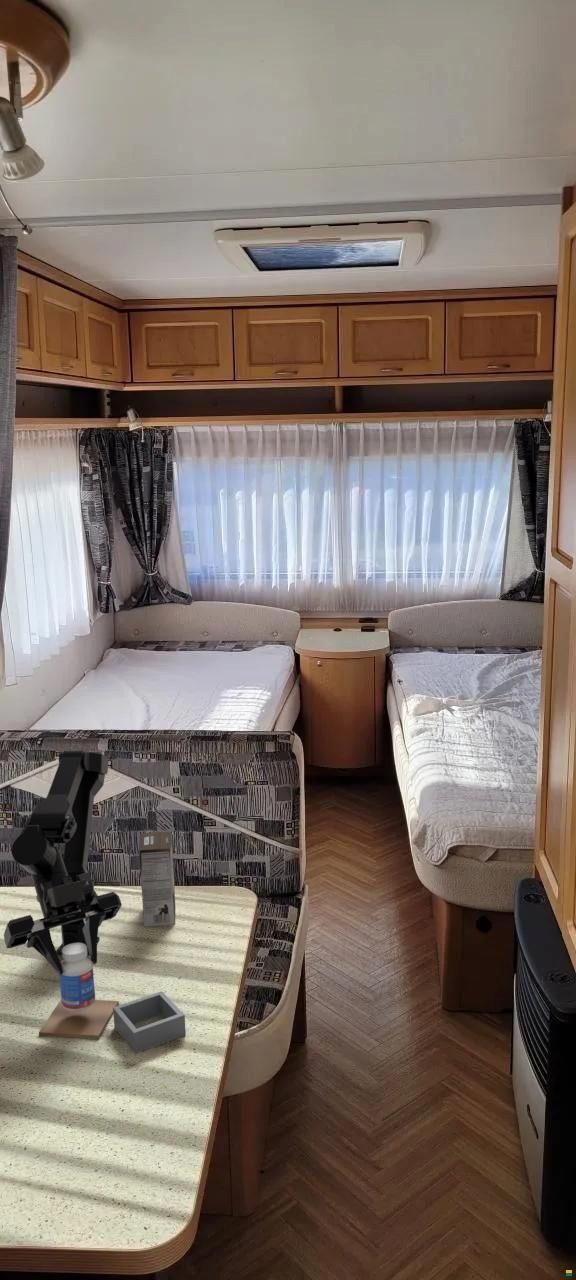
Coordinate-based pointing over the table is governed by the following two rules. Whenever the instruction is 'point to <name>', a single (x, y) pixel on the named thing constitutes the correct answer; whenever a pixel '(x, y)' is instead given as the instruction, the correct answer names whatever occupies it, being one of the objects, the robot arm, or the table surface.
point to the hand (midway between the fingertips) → (78, 968)
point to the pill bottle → (76, 978)
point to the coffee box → (157, 878)
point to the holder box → (153, 1032)
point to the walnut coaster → (79, 1021)
